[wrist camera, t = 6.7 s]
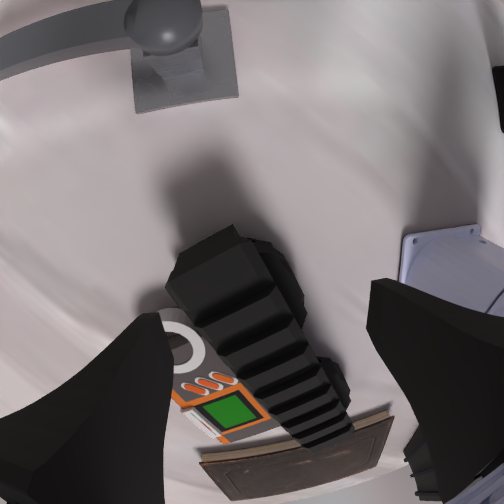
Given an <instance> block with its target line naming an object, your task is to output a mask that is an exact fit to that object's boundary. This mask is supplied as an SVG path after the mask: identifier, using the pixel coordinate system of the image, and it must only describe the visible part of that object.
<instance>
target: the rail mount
mask: <svg viewBox="0 0 504 504" xmlns="http://www.w3.org/2000/svg"><path fill="white" fill-rule="evenodd" d="M165 288H166V290H167V291H168V292H169V294H170V295H171V296H172V298H173V299H174V301H175V302H176V303H177V305H178V306H179V307H180V309H181V310H183V311H184V312H185V313H186V315H187V316H188V317H189V319H190V320H191V321H192V322H193V324H194V327H195V328H196V329H197V331H198V332H199V333H200V334H201V336H202V337H203V338H204V339H205V340H206V341H208V343H209V344H210V345H211V346H212V348H213V349H214V350H215V351H216V353H217V355H218V356H219V358H220V359H221V360H222V361H223V362H224V364H225V365H226V366H228V367H229V368H230V369H231V370H232V372H233V373H234V374H235V375H236V378H237V379H238V380H239V381H240V382H241V383H242V384H243V386H244V387H246V388H247V389H248V390H249V391H250V392H251V393H252V394H253V396H254V398H255V399H256V400H257V401H258V402H259V403H260V404H261V405H263V406H264V407H265V409H266V410H267V411H268V413H269V414H270V415H271V416H272V417H273V418H274V419H275V420H277V421H278V422H279V423H280V424H281V426H282V427H283V428H284V429H285V430H286V431H287V432H289V433H290V434H291V435H292V437H293V438H294V439H295V440H296V441H297V442H299V443H300V444H301V446H302V447H303V448H304V449H305V450H307V451H309V452H311V453H315V452H317V451H320V450H322V449H324V448H327V447H329V446H331V445H334V444H336V443H338V442H341V441H343V440H345V439H347V438H349V437H351V436H352V435H353V432H354V429H355V427H354V425H353V423H352V421H351V420H350V418H349V416H348V414H347V412H346V410H347V408H348V406H349V404H350V402H351V399H350V397H349V394H350V389H349V387H348V384H347V382H346V380H345V378H344V376H343V374H342V372H341V370H340V368H339V366H338V364H336V363H334V362H332V361H331V359H330V358H322V357H316V356H315V354H314V352H313V350H312V349H311V347H310V345H309V343H308V341H307V340H306V338H305V336H304V334H303V332H302V331H301V329H302V326H303V323H304V321H305V318H306V315H307V311H306V309H305V307H304V294H303V292H302V290H301V288H300V286H299V284H298V282H297V280H296V278H295V276H294V274H293V272H292V271H291V269H290V267H289V265H288V263H287V261H286V259H285V258H284V256H283V254H281V253H280V252H279V251H277V250H276V249H274V248H273V246H272V244H271V242H266V241H261V240H256V239H252V238H247V239H246V238H243V237H240V236H239V234H238V233H237V231H236V229H235V227H234V226H233V224H232V225H230V226H229V227H227V228H225V229H223V230H221V231H219V232H218V233H216V234H214V235H212V236H210V237H208V238H207V239H205V240H203V241H201V242H199V243H198V244H196V245H194V246H192V247H190V248H189V249H187V250H185V251H183V252H182V253H180V254H179V257H178V259H177V262H176V264H175V267H174V270H173V271H172V272H171V274H170V276H169V278H168V281H167V283H166V286H165Z"/></svg>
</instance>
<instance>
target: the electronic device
mask: <svg viewBox="0 0 504 504" xmlns="http://www.w3.org/2000/svg"><path fill="white" fill-rule="evenodd" d="M156 312H159V314H160V317H161V320H162V324H163V327H164V330H165V332H175V333H178V334H176V335H174V336H172V337H169V338H167V339H168V342H169V345H170V348H171V351H172V354H173V357H174V378H173V388H172V394H171V398H172V399H173V400H174V401H175V402H176V403H177V404H178V405H179V406H181V410H180V411H181V412H182V413H183V414H184V415H185V416H186V417H187V418H188V419H189V420H191V421H192V422H193V423H194V424H195V425H196V426H197V427H199V428H200V429H201V430H202V431H203V432H205V433H206V434H207V435H208V436H209V437H211V438H217V439H218V440H219V441H220V442H222V443H223V444H227V443H231V442H234V441H238V440H241V439H244V438H247V437H250V436H253V435H256V434H259V433H262V432H265V431H268V430H270V429H273V428H276V427H279V426H281V424H280V423H279V422H278V421H277V420H275V419H274V418H273V417H272V416H271V415H270V414H269V413H268V411H267V410H266V409H265V407H264V406H263V405H261V404H260V403H259V402H258V401H257V400H256V399H255V398H254V396H253V394H252V393H251V392H250V391H249V390H248V389H247V388H246V387H244V386H243V384H242V383H241V382H240V381H239V380H238V379H237V378H236V375H235V374H234V373H233V372H232V370H231V369H230V368H229V367H228V366H226V365H225V364H224V362H223V361H222V360H221V359H220V358H219V356H218V355H217V353H216V351H215V350H214V349H213V348H212V346H211V345H210V344H209V343H208V341H206V340H205V339H204V338H203V337H202V336H201V334H200V333H199V332H198V331H197V329H196V328H195V327H194V324H193V322H192V321H191V320H190V319H189V317H188V316H187V315H186V313H185V312H184V311H183V310H181V309H179V308H164V309H161V310H158V311H156ZM188 342H189V343H188ZM186 343H187V344H186ZM179 346H180V347H179ZM177 347H178V348H177ZM172 349H173V350H172Z"/></svg>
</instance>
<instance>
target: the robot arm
mask: <svg viewBox="0 0 504 504" xmlns="http://www.w3.org/2000/svg"><path fill="white" fill-rule="evenodd" d="M480 234H481V226H480V225H478V224H473V225H466V226H460V227H453V228H447V229H440V230H434V231H427V232H420V233H414V234H408V235H406V236H405V237H404V239H403V245H402V257H401V266H400V275H399V282H398V281H395V280H392V279H389V278H383V279H378V280H373V281H371V291H370V300H369V309H368V317H367V325H366V329H367V332H368V334H369V336H370V338H371V340H372V343H373V345H374V347H375V349H376V351H377V352H378V354H379V355H380V357H381V358H382V360H383V362H384V363H385V365H386V366H387V368H388V369H389V371H390V372H391V374H392V375H393V377H394V378H395V380H396V381H397V383H398V385H399V386H400V388H401V389H402V391H403V392H404V394H405V396H406V398H407V399H408V401H409V403H410V405H411V407H412V409H413V411H414V414H415V416H416V418H417V420H418V423H419V425H420V428H421V430H422V433H423V436H424V438H425V441H426V444H427V447H428V450H429V453H430V456H431V460H432V463H433V467H434V471H435V476H436V480H437V485H438V491H439V497H440V499H441V501H442V502H443V504H479V503H480V504H504V248H502V247H500V246H498V245H497V244H495V243H493V242H491V241H489V240H487V239H485V238H483V237H481V236H480ZM414 239H415V241H414V242H413V240H414ZM173 378H174V357H173V354H172V351H171V348H170V345H169V342H168V339H167V336H166V333H165V330H164V327H163V324H162V320H161V317H160V314H159V312H154V313H143V314H141V315H140V316H138V317H137V318H136V319H135V320H134V321H133V322H132V323H131V324H130V325H129V326H128V327H127V328H126V329H125V330H124V331H123V332H122V333H121V334H120V335H119V336H118V337H117V338H116V339H115V340H114V341H113V342H112V343H110V344H109V345H108V346H107V347H106V348H105V349H104V350H103V351H102V352H101V353H100V354H99V355H98V356H97V357H95V358H94V359H93V360H92V361H91V362H90V363H89V364H88V365H87V366H85V367H84V368H83V369H82V370H81V371H79V372H78V373H77V374H76V375H74V376H73V377H72V378H70V379H69V380H68V381H66V382H65V383H64V384H62V385H61V386H60V387H58V388H57V389H55V390H53V391H52V392H50V393H49V394H47V395H45V396H44V397H42V398H41V399H39V400H37V401H36V402H34V403H32V404H30V405H28V406H26V407H25V408H23V409H21V410H18V411H16V412H14V413H12V414H10V415H8V416H5V417H3V418H0V497H1V498H2V499H4V500H5V501H6V502H7V504H165V499H164V479H163V448H164V438H165V431H166V425H167V419H168V412H169V406H170V400H171V394H172V388H173Z"/></svg>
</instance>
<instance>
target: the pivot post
mask: <svg viewBox="0 0 504 504" xmlns="http://www.w3.org/2000/svg"><path fill="white" fill-rule="evenodd" d="M202 16H203V27H202V31H201V33H200V35H199V37H198V38H197V39H196V41H195V42H194V43H193V44H192V45H190V46H189V47H188V48H186V49H185V50H183V51H181V52H178V53H176V54H173V55H168V56H154V55H150V54H148V53H146V52H144V51H142V50H141V49H140V48H132V49H131V65H132V79H133V91H134V102H135V111H136V114H142V113H146V112H151V111H155V110H160V109H165V108H170V107H175V106H181V105H186V104H192V103H199V102H205V101H212V100H220V99H228V98H237V97H238V96H239V94H238V85H237V77H236V69H235V60H234V52H233V44H232V35H231V27H230V19H229V11H228V10H218V11H209V12H202Z"/></svg>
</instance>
